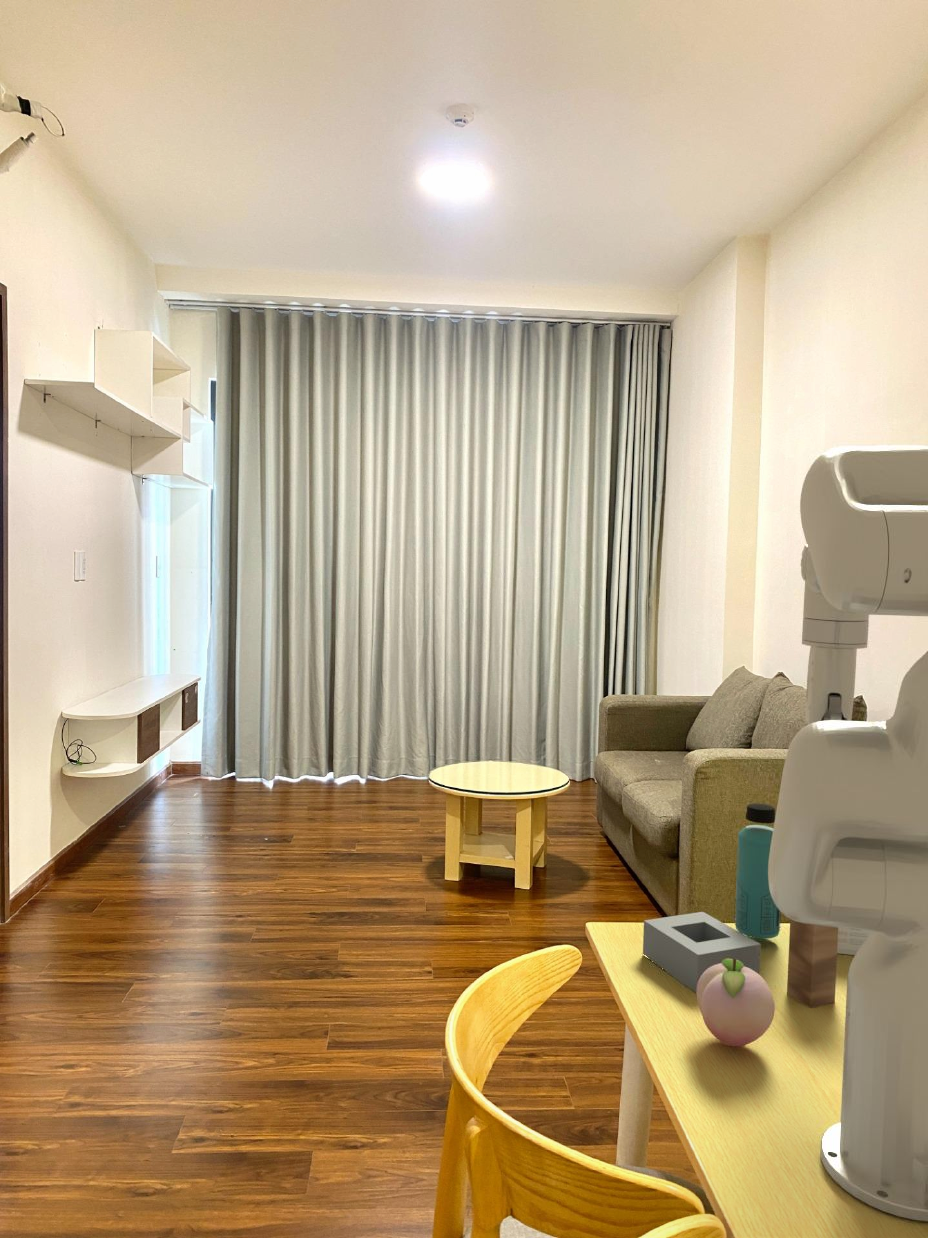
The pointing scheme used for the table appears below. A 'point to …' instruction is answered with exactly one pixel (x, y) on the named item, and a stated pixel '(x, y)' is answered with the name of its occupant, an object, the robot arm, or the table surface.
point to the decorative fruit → (735, 1002)
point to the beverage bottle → (755, 877)
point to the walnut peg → (812, 963)
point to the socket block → (696, 946)
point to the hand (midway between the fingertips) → (827, 770)
